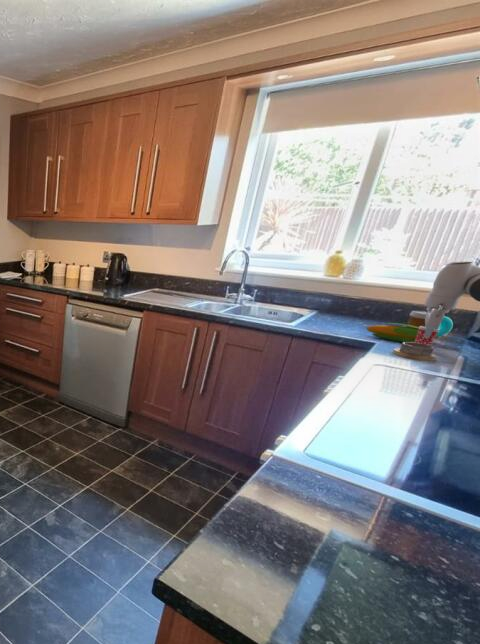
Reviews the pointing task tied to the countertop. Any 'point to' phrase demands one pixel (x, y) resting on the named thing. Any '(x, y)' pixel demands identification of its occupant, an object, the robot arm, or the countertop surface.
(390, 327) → the corn
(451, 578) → the countertop surface
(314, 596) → the countertop surface
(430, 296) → the robot arm
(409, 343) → the stand
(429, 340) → the beverage cup
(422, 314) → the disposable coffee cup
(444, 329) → the turquoise rounded piece
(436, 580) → the countertop surface
